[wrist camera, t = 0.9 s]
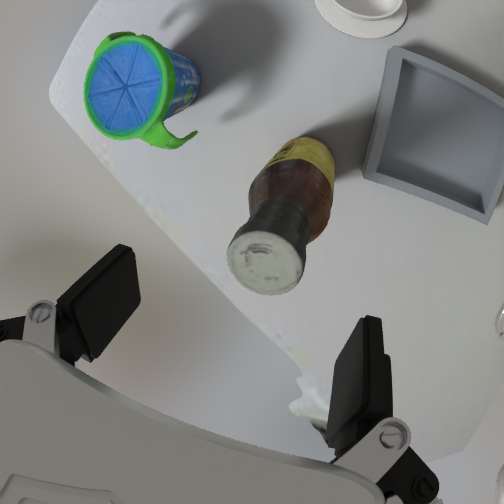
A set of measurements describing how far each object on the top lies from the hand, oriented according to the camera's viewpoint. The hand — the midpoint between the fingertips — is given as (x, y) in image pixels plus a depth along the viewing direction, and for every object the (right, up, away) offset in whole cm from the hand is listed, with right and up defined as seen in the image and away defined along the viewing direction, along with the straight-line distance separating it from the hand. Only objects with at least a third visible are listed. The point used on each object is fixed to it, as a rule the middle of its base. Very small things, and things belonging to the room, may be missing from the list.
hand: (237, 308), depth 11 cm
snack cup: (-9, +22, +18) cm, 30 cm away
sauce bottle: (+7, +12, +20) cm, 24 cm away
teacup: (+12, +28, +8) cm, 32 cm away
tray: (+21, +15, +13) cm, 29 cm away
